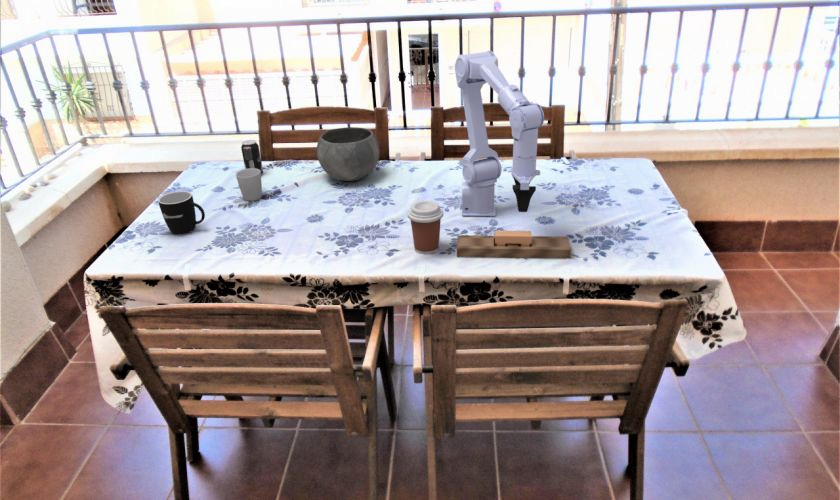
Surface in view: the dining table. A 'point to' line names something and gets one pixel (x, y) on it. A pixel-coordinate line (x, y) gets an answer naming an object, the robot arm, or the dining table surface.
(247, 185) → the cup
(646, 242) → the dining table surface
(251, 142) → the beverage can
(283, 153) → the dining table surface
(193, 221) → the mug
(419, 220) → the coffee cup
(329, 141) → the bowl
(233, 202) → the dining table surface
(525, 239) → the clip
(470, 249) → the rail
